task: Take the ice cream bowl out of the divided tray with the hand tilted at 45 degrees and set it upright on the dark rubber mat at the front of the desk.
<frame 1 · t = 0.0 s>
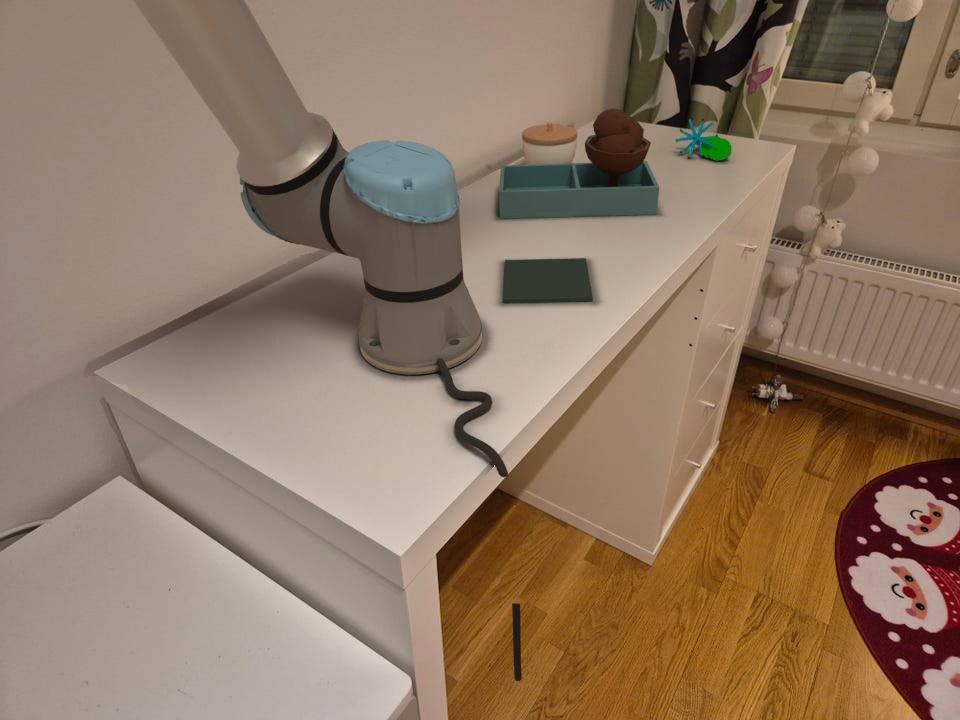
trinket box: (549, 172, 132), on the table
ice cream bowl: (611, 196, 117), point 1 cm above the table, touching divided tray
mat: (546, 281, 93), on the table
stick construction toy: (704, 155, 135), on the table
divided tray: (574, 201, 117), on the table
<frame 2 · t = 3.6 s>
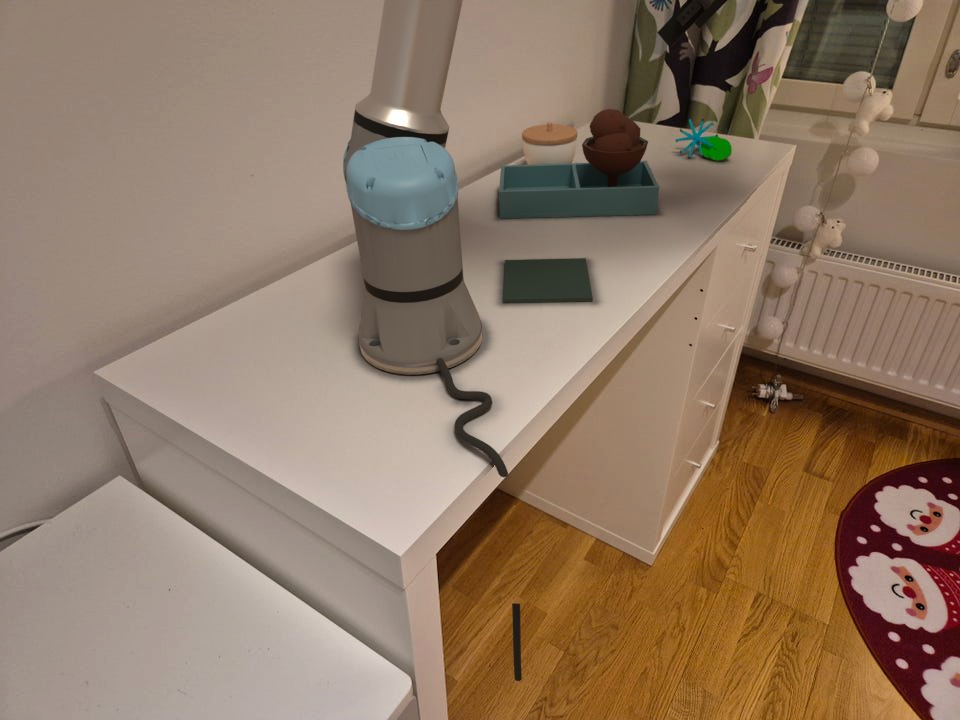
hand: (679, 30, 97), 28 cm above the table, tool tilted 45°, fingers open, 13 cm apart
nothing on the table moved.
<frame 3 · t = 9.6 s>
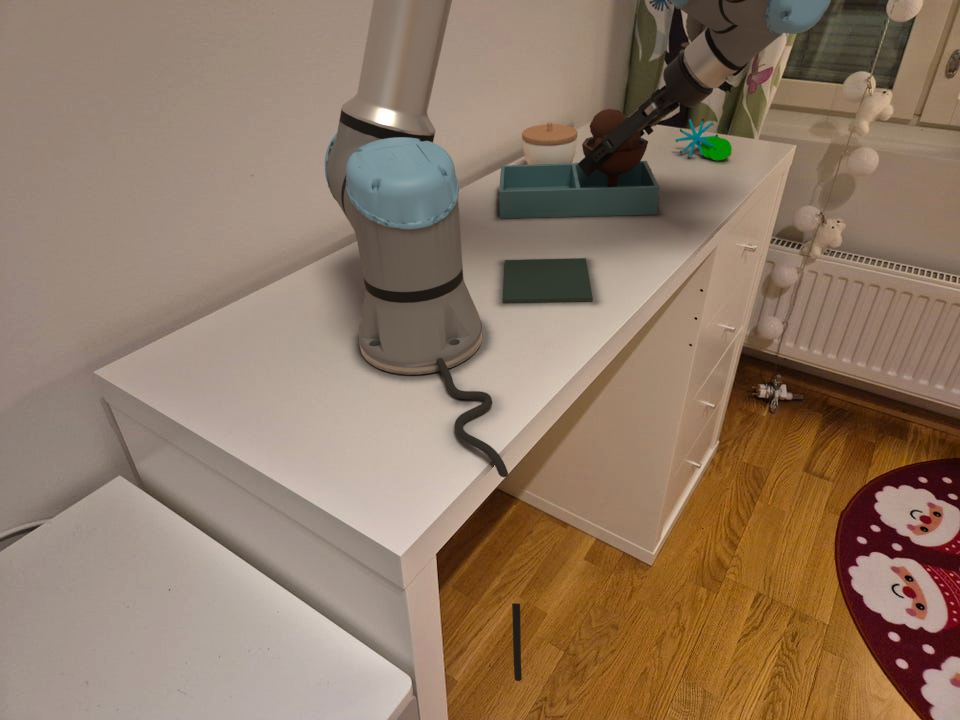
hand: (598, 160, 114), 7 cm above the table, tool tilted 45°, fingers closed on ice cream bowl, 11 cm apart
ice cream bowl: (611, 197, 117), point 1 cm above the table, touching gripper, divided tray
everything else where it was.
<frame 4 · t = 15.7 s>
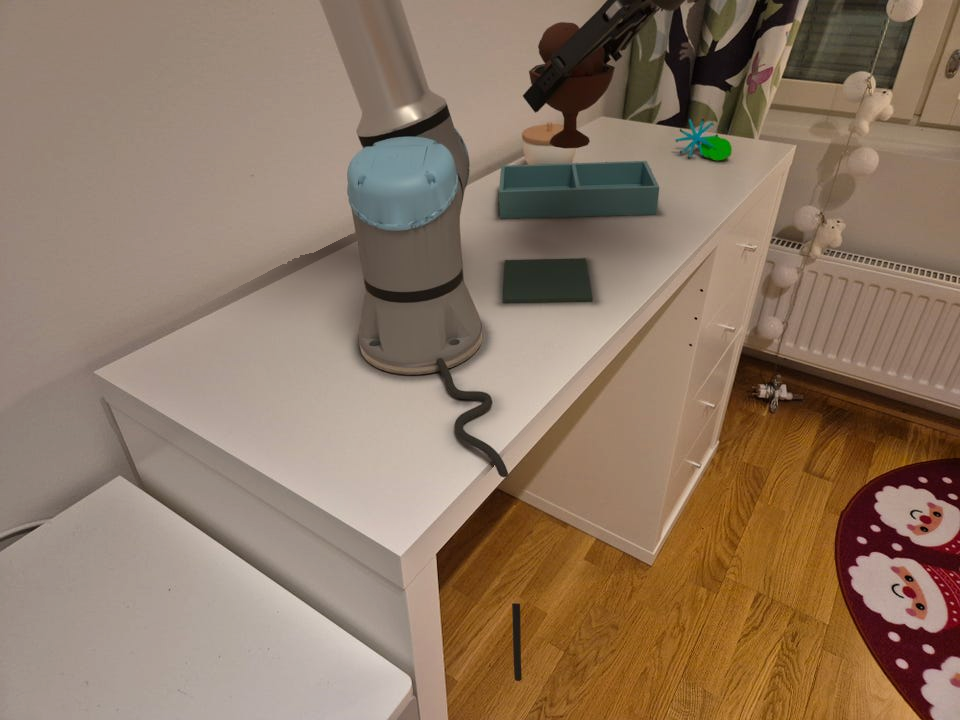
hand: (551, 94, 89), 23 cm above the table, tool tilted 45°, fingers closed on ice cream bowl, 11 cm apart
ice cream bowl: (569, 143, 91), point 17 cm above the table, touching gripper
everything else where it was.
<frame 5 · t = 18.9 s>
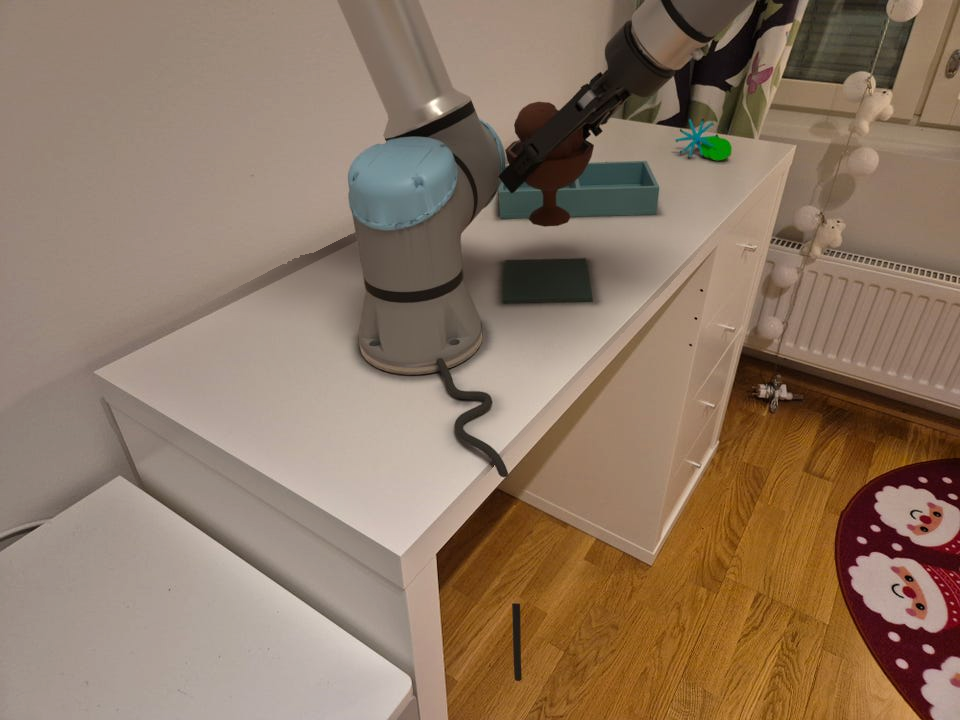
hand: (530, 170, 86), 16 cm above the table, tool tilted 45°, fingers closed on ice cream bowl, 11 cm apart
ice cream bowl: (549, 219, 88), point 9 cm above the table, touching gripper
everything else where it was.
when the fingers open (7 cm above the table, at t = 21.9 s): ice cream bowl stays where it is, resting on mat.
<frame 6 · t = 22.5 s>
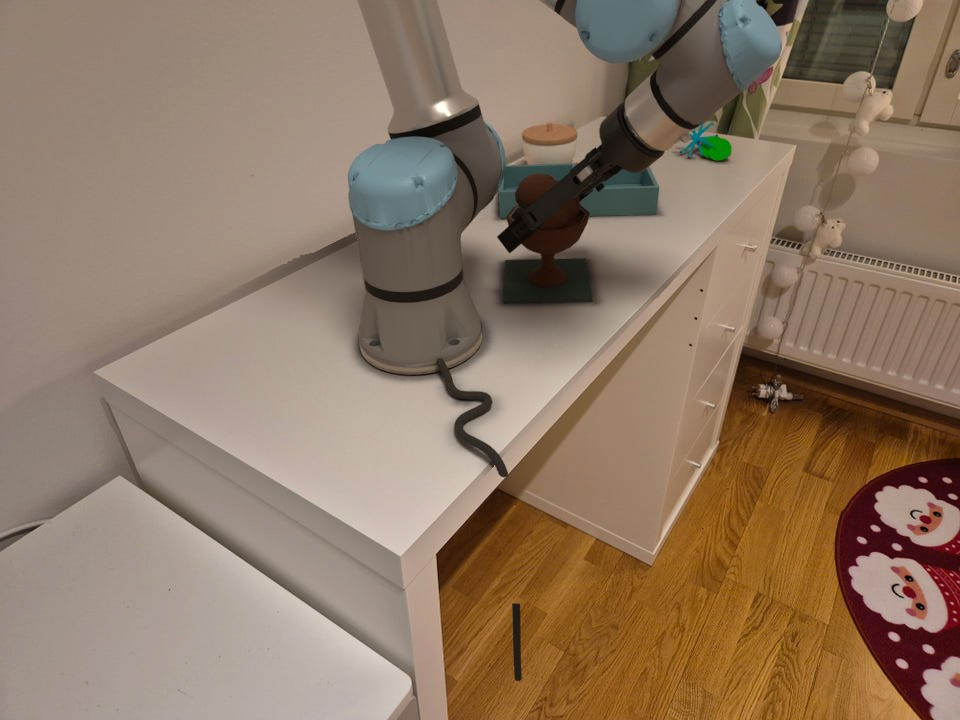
hand: (531, 225, 90), 8 cm above the table, tool tilted 45°, fingers open, 13 cm apart
ice cream bowl: (547, 278, 93), resting on mat
everything else where it was.
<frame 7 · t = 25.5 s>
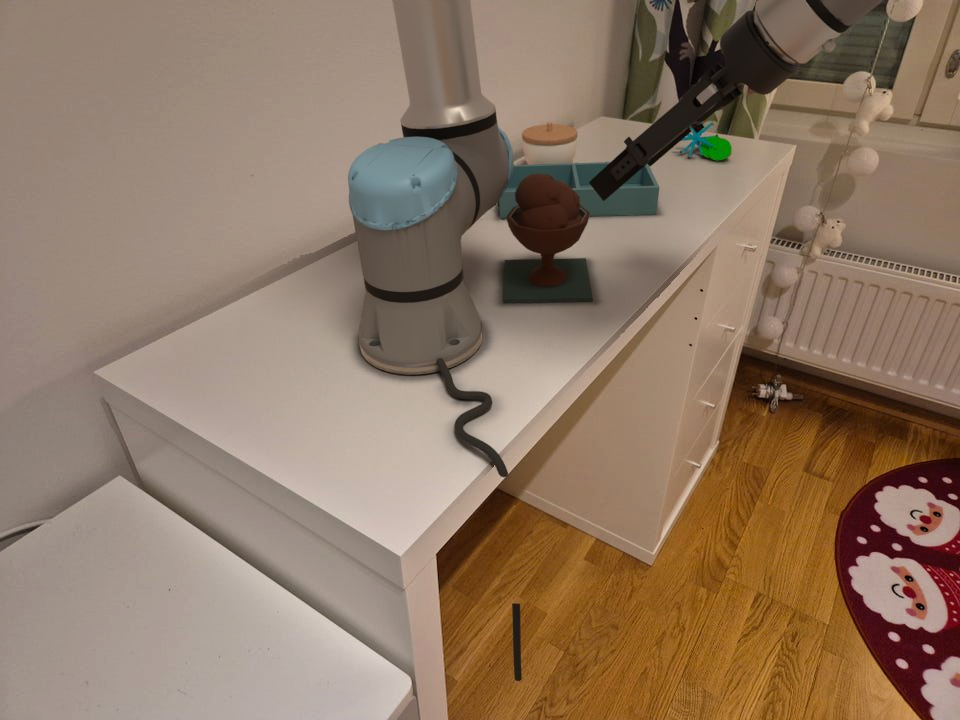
hand: (622, 173, 79), 17 cm above the table, tool tilted 45°, fingers open, 13 cm apart
nothing on the table moved.
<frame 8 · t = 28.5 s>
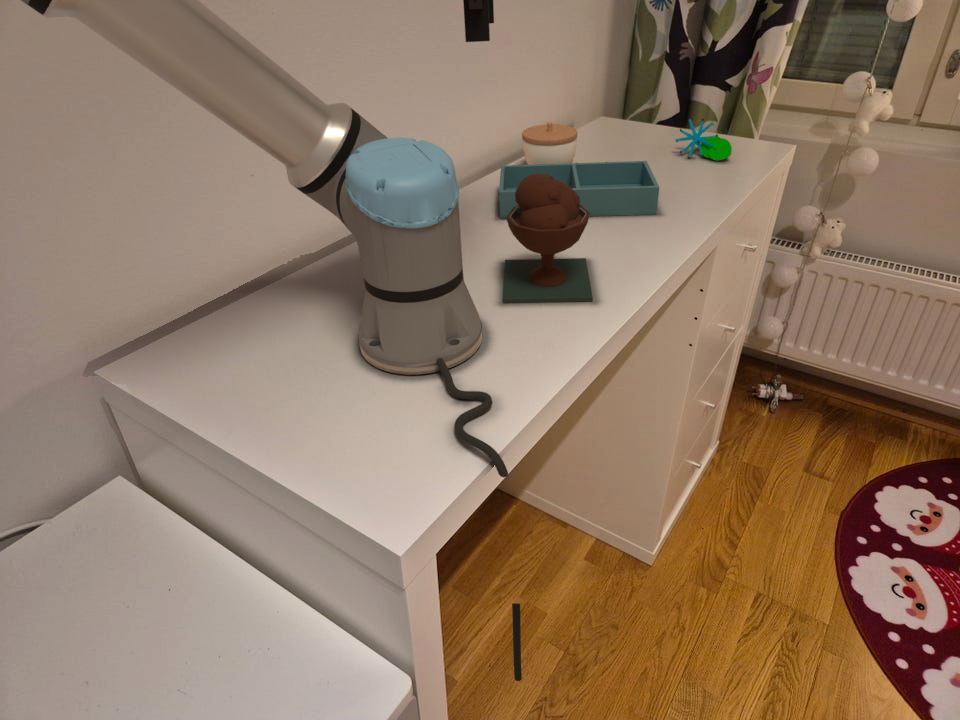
hand: (480, 32, 80), 32 cm above the table, tool pointing down, fingers open, 13 cm apart
nothing on the table moved.
at the end: ice cream bowl inside the target area on the mat (0.2 cm from its centre), point 0.4 cm above the mat's base; ice cream bowl tilted 0°; ice cream bowl touching mat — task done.
